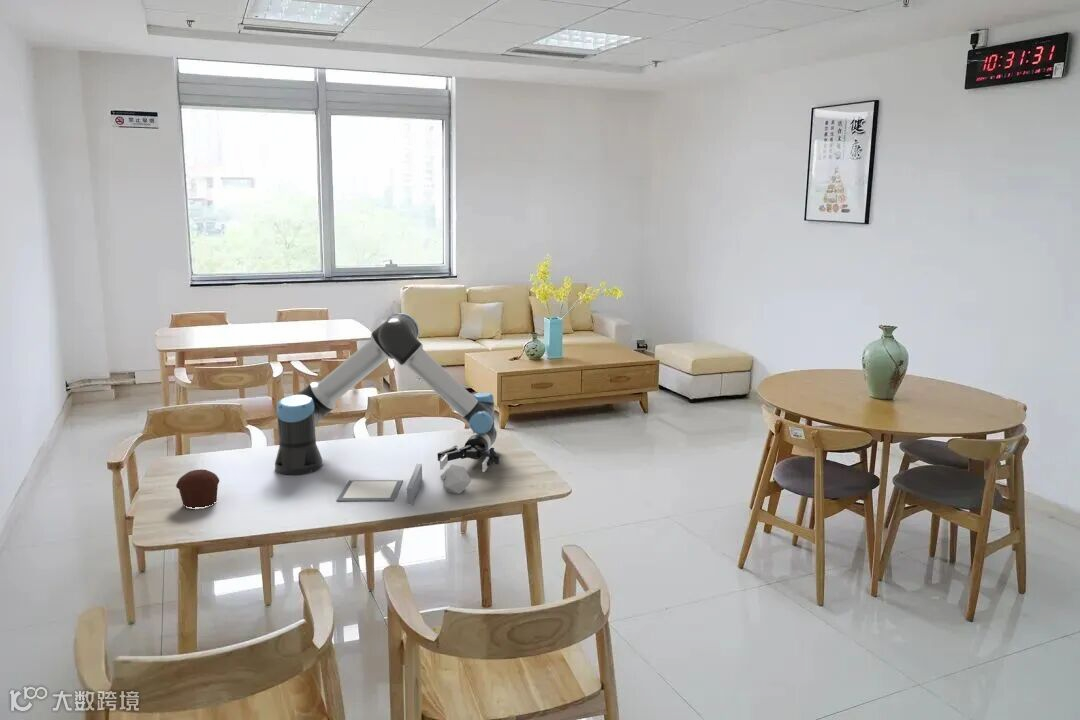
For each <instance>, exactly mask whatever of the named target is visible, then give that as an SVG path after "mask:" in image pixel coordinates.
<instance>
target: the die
mask: <svg viewBox="0 0 1080 720" xmlns="http://www.w3.org/2000/svg"><path fill="white" fill-rule="evenodd" d="M439 477H440V480H441V482H442V484H443V486H444V488H445V492H449V493H454V494H458V495H460V494H461V493H462V492H464V490H465V489H466V488H467V487H468V486H469V485H470V484H471V483H472V481H471V478H470V475H469V474H468V471H467V468H466V467H465V466H460V465H455V464H450V466H449V467H448V468H446V469H445V470H444V472H443V473H442V474H441V475H440V476H439Z"/></svg>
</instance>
